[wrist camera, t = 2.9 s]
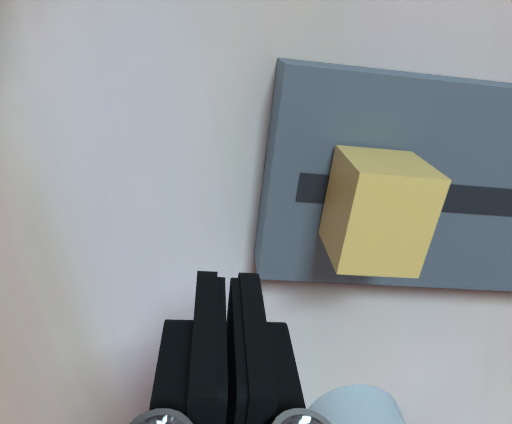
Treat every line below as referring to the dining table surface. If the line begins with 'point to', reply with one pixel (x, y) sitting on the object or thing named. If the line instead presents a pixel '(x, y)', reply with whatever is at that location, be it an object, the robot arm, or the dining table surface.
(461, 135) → the board
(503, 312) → the dining table surface
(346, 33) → the dining table surface
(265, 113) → the dining table surface
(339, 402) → the light blue cylinder
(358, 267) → the fader knob
